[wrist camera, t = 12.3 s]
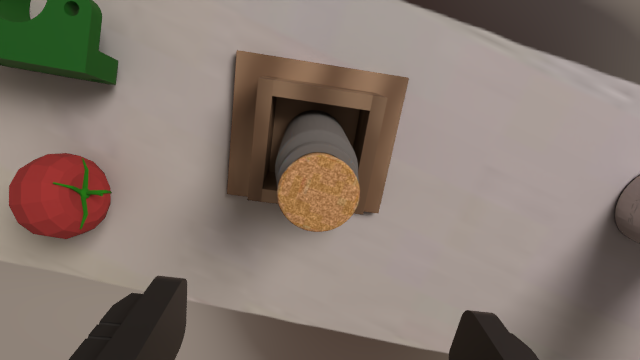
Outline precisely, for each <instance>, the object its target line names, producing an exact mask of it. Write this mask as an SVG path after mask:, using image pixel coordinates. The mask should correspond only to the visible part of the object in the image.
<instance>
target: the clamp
mask: <svg viewBox="0 0 640 360" xmlns="http://www.w3.org/2000/svg"><path fill="white" fill-rule="evenodd" d="M30 1H31V0H0V65H2V66H7V67H13V68H19V69H24V70H30V71H36V72H42V73H47V74H53V75H59V76H65V77H70V78H76V79H82V80H88V81H93V82H99V83H105V84H111V85H116V77H117V69H118V61H117V60H115V59H114V58H112V57H110V56H108V55H106V54H104V53H102V52H100V51H98V50H99V41H100V32H101V23H102V13H101V10H100V8H99V6H98V5H97V4H96V3H95V2H94V1H92V0H47V3H46V5H45V7H44V9H43V11H42V12H41V13H40V14H39V15H38V16H36V17H35V18H33V19H31V20H30V15H29V7H30Z"/></svg>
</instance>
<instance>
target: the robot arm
mask: <svg viewBox="0 0 640 360" xmlns="http://www.w3.org/2000/svg"><path fill="white" fill-rule="evenodd" d="M615 219H616V224H617V226H618V229H619V230H620V231H621V232H622V234H624V235H625V236H627V237H628V238H630V239H632V240H634V241H636V242H637V243H639V244H640V175H639V176H638V177H637V178H635V179H634V180H633V181H632V182H631V183H630V184H629V185H628V186H627V187H626V189H625V190H624V191H623V193H622V194H621V196H620V198H619V200H618V203H617V206H616V211H615ZM186 305H187V280H186V279H183V278H174V277H165V276H157V277H155V278H154V280H153V281H152V282H151V284H150V285H149V287H148V288H147V289H146V291H145V292H144V294H137V293H131V294H129V295H128V296H126V297H125V298H123V299H122V300H120V301H119V302H117V303H116V304H114V305H113V306H112V307H111V308H110V310H109V311H108V312H107V313H106V315H105V316H104V317H103V318H102V319H101V321H100V323H99V325H97V326H96V327H95V328H94V329H93V330H92V332H91V333H90V334H89V336H88V338H87V339H85V340H84V341H83V343H82V344H81V345H80V346H79V348H78V349H77V350H76V351H75V352H74V354H73V355H72V356H71V357H70V359H69V360H175V358H176V356H177V353H178V351H179V349H180V347H181V344H182V341H183V337H184V333H185V327H186V308H187V306H186ZM449 360H539V359H538V358H537V356H536V355H535V354H534V352H533V351H532V350H531V349H530V348H529V347H528V346H527V345H526V344H524V343H523V342H522V341H521V340H520V339H518V338H517V337H516V336H515V335H514V334H511V333H509V332H508V330H507V329H506V327H505V326H504V325H503V323H502V322H501V321H500V319H499V318H498V317H497V316H496V315H495V314H493V313H487V312H478V311H469V310H467V311H465V312H464V313H463V314H462V317H461V320H460V322H459V325H458V328H457V331H456V334H455V337H454V340H453V342H452V345H451V348H450V352H449Z"/></svg>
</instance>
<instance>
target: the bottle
mask: <svg viewBox="0 0 640 360" xmlns="http://www.w3.org/2000/svg"><path fill="white" fill-rule="evenodd" d="M275 175H276V180H277V198H278V203H279V206H280V209H281V211H282V212H283V214H284V215H285V217H286V218H287V219H288V220H289V221H290V222H291V223H293V224H294V225H296V226H298V227H299V228H302V229H304V230H308V231H313V232H322V231H328V230H332V229H334V228H337V227H339V226H341V225H342V224H343V223H345V222H346V221H347V220H348V219H349V218H350V217H351V216H352V215H353V213H354V212H355V210H356V208H357V205H358V202H359V197H360V187H359V178H358V162H357V157H356V155H355V152H354V150H353V148H352V146H351V144H350V142H349V140H348V138H347V136H346V135H345V133H344V131H343V129H342V127H341V126H340V124H339V123H338V121H337V120H336V119H335V118H334V117H333V116H331V115H330V114H328V113H326V112H323V111H320V110H309V111H304V112H302V113H300V114H298V115H297V116H296V117H294V118H293V119H292V120H291V121H290V123H289V125H288V126H287V128H286V131H285V133H284V136H283V139H282V142H281V145H280V148H279V151H278V155H277V159H276V163H275Z"/></svg>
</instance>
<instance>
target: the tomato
mask: <svg viewBox="0 0 640 360" xmlns="http://www.w3.org/2000/svg"><path fill="white" fill-rule="evenodd" d="M110 193H111V191H110V186H109V184H108V181H107V179H106V176H105V174H104V172H103V171H102V170H101V169H100V168H99V167H98V166H97V165H96V164H95V163H94V162H93V161H90V160H88V159H85V158H83V157H81V156H77V155H72V154H67V153H62V154H47V155H45V156H43V157H40V158H38V159H35V160H33V161H32V162H30V163H28V164H27V165H25V166H24V167H22V168H20V169H19V170H18V172H17V173H16V175H15V177H14V179H13V180H12V182H11V184H10V186H9V206H10V208H11V210H12V212H13V214H14V216H15V218H16V220H17V222H18V223H19V224H20V225H22V226H23V227H25V228H26V229H27V230H29V231H30V232H32V233H33V234H37V235H44V236H50V237H56V238H63V239H68V238H71V237H74V236H77V235H80V234H83V233H85V232H87V231H89V230H92V229H94V228H95V227H96V226H97V225H98V224H99V223H100V222H101V221H102V220H103V219H104V218H105V216H106V214H107V211H108V208H109V206H110Z"/></svg>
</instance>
